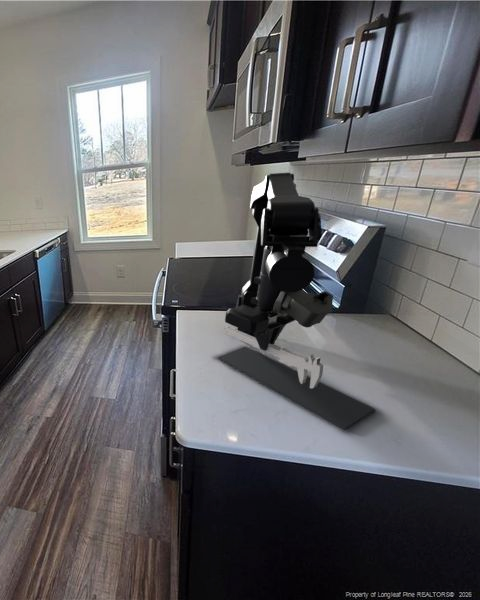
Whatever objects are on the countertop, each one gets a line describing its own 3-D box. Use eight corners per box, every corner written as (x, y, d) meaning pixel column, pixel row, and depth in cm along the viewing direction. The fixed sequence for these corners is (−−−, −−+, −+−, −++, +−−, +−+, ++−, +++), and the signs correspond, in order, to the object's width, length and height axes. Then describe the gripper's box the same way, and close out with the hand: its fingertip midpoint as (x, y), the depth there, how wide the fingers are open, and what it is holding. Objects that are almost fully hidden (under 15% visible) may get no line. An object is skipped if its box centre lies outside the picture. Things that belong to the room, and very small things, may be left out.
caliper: (315, 388, 56) (329, 361, 53) (311, 391, 56) (326, 363, 52) (223, 328, 72) (230, 305, 69) (220, 330, 71) (226, 306, 68)
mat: (244, 347, 84) (245, 346, 84) (374, 410, 60) (375, 408, 60) (217, 358, 80) (217, 357, 80) (344, 430, 56) (345, 428, 56)
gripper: (291, 297, 46) (273, 385, 52) (360, 274, 54) (338, 353, 60) (227, 279, 56) (218, 355, 62) (293, 261, 63) (280, 331, 69)
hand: (265, 348), depth 63 cm, fingers closed on caliper, 1 cm apart
